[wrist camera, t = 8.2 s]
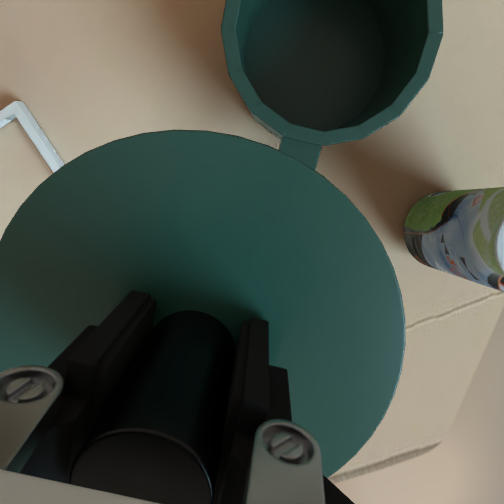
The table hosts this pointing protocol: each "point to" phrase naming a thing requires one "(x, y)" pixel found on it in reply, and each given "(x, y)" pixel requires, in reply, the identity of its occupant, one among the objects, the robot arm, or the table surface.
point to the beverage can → (460, 234)
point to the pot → (329, 65)
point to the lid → (203, 300)
